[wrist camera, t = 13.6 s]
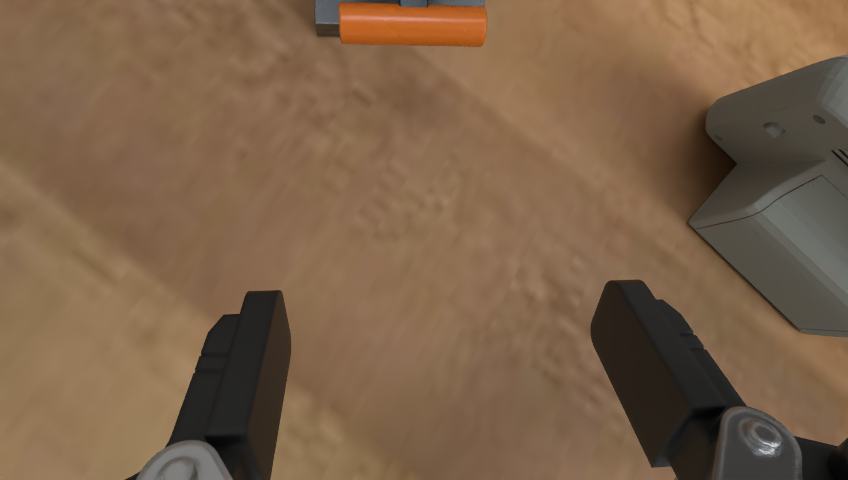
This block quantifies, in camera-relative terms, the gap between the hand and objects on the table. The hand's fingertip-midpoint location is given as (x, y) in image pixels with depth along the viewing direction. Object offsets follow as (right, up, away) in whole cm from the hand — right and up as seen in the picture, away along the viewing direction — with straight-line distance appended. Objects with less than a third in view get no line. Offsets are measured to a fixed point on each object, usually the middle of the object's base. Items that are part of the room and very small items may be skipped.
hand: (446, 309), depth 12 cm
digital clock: (+20, +2, +15) cm, 25 cm away
